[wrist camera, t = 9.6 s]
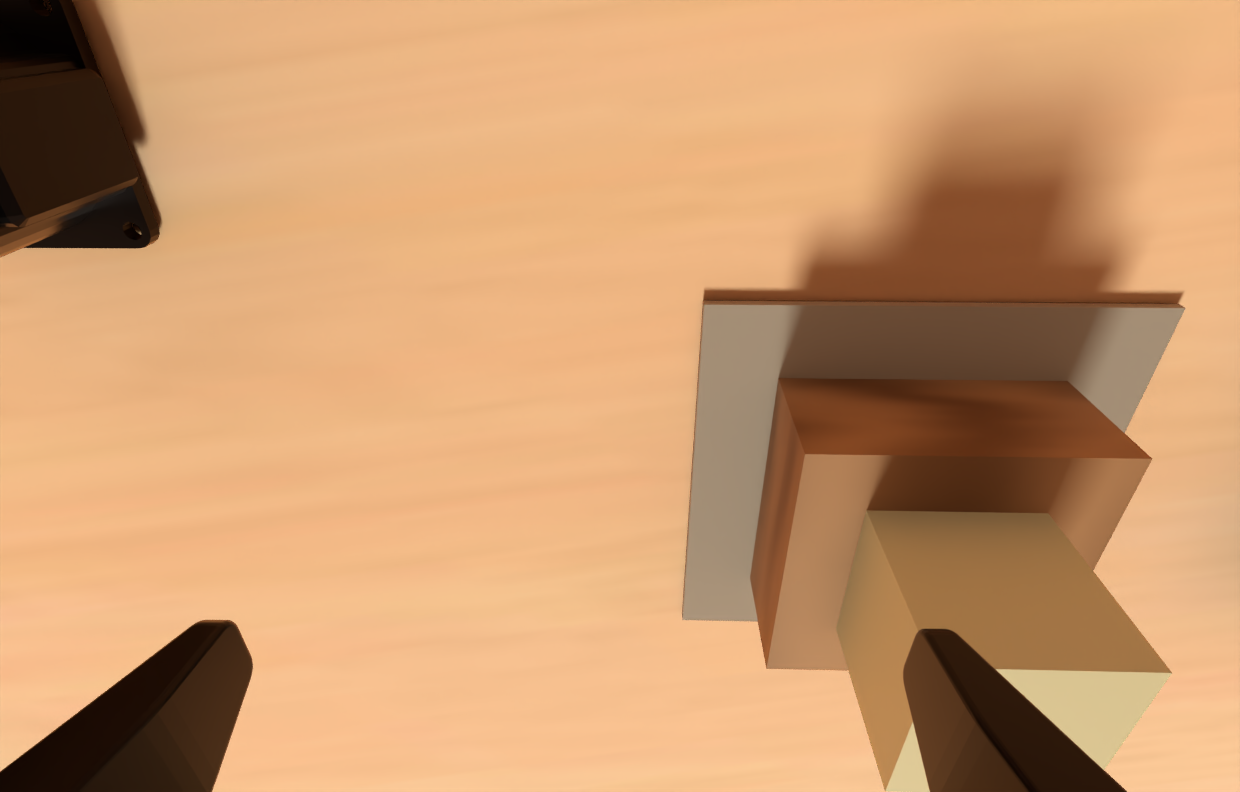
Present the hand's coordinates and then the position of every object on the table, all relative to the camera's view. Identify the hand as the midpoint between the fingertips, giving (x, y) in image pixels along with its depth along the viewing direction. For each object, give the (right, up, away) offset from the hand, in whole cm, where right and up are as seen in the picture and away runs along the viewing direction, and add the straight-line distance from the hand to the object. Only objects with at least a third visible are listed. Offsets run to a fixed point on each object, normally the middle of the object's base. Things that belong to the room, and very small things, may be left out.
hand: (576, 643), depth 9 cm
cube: (+10, -2, +11) cm, 15 cm away
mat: (+10, 0, +15) cm, 18 cm away
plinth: (+10, 0, +14) cm, 17 cm away
